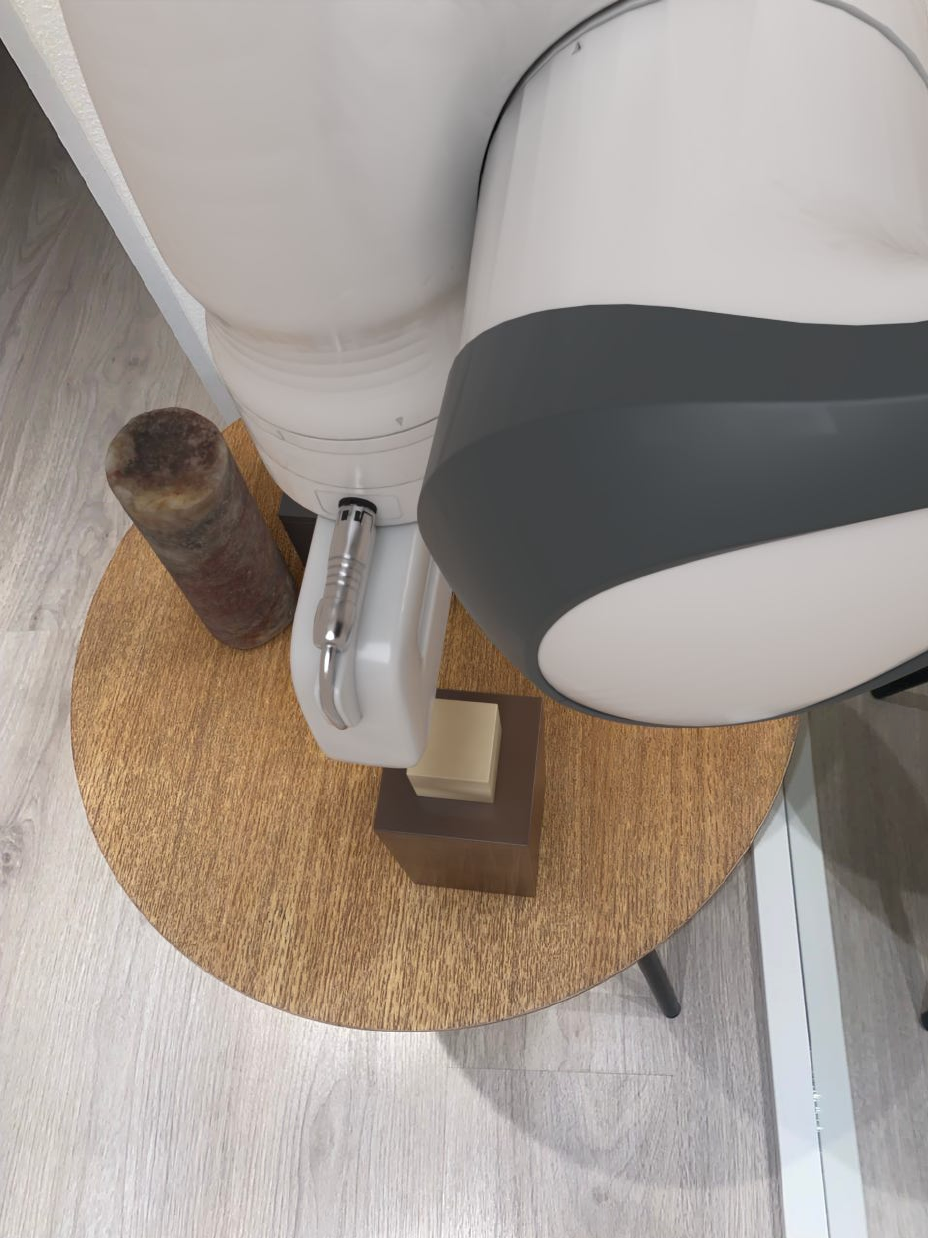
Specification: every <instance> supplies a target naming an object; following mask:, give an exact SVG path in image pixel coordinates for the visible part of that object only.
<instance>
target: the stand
mask: <svg viewBox="0 0 928 1238" xmlns="http://www.w3.org/2000/svg"><path fill="white" fill-rule="evenodd" d="M435 699H447V700H458V701H469V702H480V703H492V704H497V705H498V710H499V717H500V723H501V729H502V732H501V741H500V750H499V759H498V767H497V776H496V785H495V794H494V802H493V803H486V802H476V801H466V800H456V799H446V798H437V797H427V796H418V795H417V794H416V792H415V790H414V788H413V786H412V784H411V782H410V780H409V778H408V776H407V774H406V772H407V768H386V767H382V771H381V778H380V783H379V790H378V796H377V803H376V808H375V813H374V814H375V815H374V821H373V827H372V831H373V832H374V833H375V834H376V836H377V837H378V839H379V840H380V841H381V843H382V844H383V845H384V846H385V848H386V850H388V852H389V853H390V854H391V856H392V857H393V858H394V860H395V861H396V862H397V863H398V865H399V866H400V867H401V869H402V870H403V871H404V872H405V874H406V875H407V877H408V878H409V879H410V880H411V882H412V884H414V885H419V886H426V887H435V888H442V889H443V888H444V889H453V890H461V891H462V890H463V891H470V892H480V893H489V894H497V895H505V896H512V897H513V896H515V897H523V898H531V899H535V898H536V891H537V882H538V881H537V880H538V871H539V858H540V850H541V849H540V848H541V838H542V837H541V836H542V828H543V827H542V826H543V815H544V803H545V793H546V785H547V769H546V766H547V765H546V741H545V738H546V737H545V715H544V711H545V709H544V698H543V697H542V696H531V695H520V694H509V693H496V692H495V693H494V692H486V691H471V690H461V689H451V688H450V689H449V688H438V687H437V689H436V696H435Z"/></svg>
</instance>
